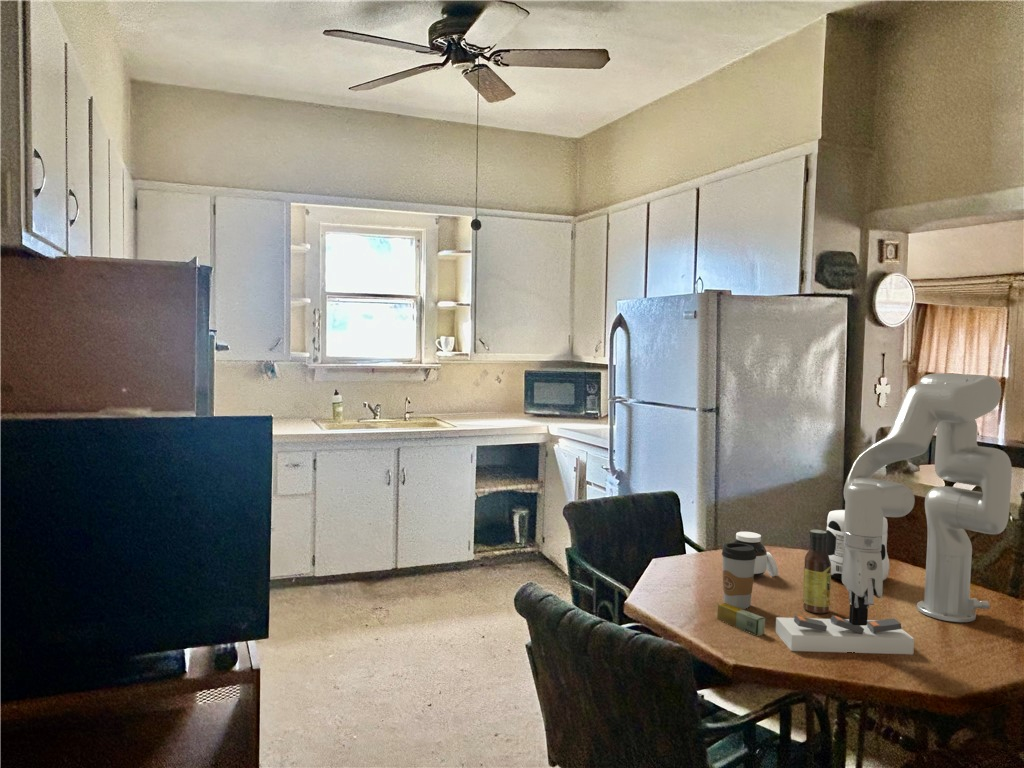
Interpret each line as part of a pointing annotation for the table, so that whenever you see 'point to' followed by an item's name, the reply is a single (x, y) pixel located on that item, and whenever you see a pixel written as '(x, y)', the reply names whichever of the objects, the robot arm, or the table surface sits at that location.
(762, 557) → the spread jar
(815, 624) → the rocker
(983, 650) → the table surface
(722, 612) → the medication box
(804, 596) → the sauce bottle
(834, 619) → the rocker middle
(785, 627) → the rocker switch panel
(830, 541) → the milk container
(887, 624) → the rocker
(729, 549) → the coffee cup
